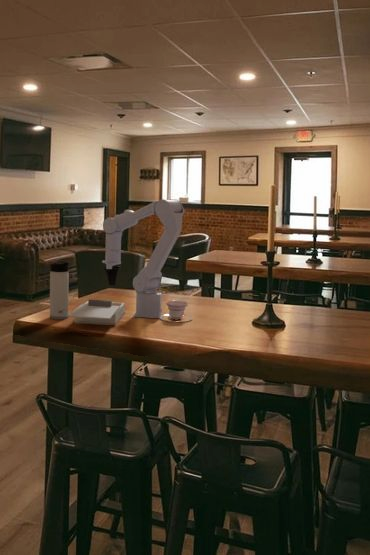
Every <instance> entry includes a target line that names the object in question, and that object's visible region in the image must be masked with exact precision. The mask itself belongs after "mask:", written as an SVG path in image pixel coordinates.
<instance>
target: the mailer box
mask: <svg viewBox="0 0 370 555" xmlns="http://www.w3.org/2000/svg"><path fill="white" fill-rule="evenodd" d="M84 304H88V300H87V301H86V302H84ZM125 305H126V303H125V302H113V301H112V306H120V308H119V309H118V311H117V312H116V313H115V314H114V315H113V316H112V318H111V319H110V320H108V319H91V318H74V324H84V325H99V326H116V325H117V324H118V323H119V321H120V320H122V318H123V317H124V315H125V314H126V312H125V308H126V306H125Z"/></svg>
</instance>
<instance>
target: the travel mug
mask: <svg viewBox="0 0 370 555" xmlns="http://www.w3.org/2000/svg"><path fill="white" fill-rule="evenodd" d="M69 265H70V261H64V262H63V261H62V262H54V263H53V262H52V263H50V268H49V269H50V271H49V272H50V273H49V318H50V319H51V320H56V321H57V320H59V321H60V320H66V319H68V318H69V317H67V316H68V315H69V285H70V284H69V281H70V280H69V278H70V277H69V275H70V274H69V272H70V271H69Z"/></svg>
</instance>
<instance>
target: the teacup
mask: <svg viewBox="0 0 370 555" xmlns="http://www.w3.org/2000/svg"><path fill="white" fill-rule="evenodd" d="M188 304H189V303H188V302H186V301H184V300H168V301H166V304H165V305H166V306H167V307H168V308H167V309H168V310H169V313H166V314H161V315H160V317H159V318H158V319H160V320H161V321H163V322H168V323H175V322H176V321H167V320H164V319H163V318H164V317H165V316H170V317H171V318H170V319H171V320H173V319H175V320H178V319H180V320H182V317H183V316H187V317H189V318H190V320H191V321H192V320H193V318H192V317H191V316H190V315H187V314H185V310H186V307H187V306H188ZM190 320H189V322H191V321H190ZM180 322H182V323H188V322H187V321H180Z"/></svg>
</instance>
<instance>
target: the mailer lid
mask: <svg viewBox="0 0 370 555" xmlns="http://www.w3.org/2000/svg"><path fill="white" fill-rule="evenodd" d="M87 301H88V304H85V303H81V304H80V305H79V306H77V307H76V308H75V309H74V310H72V311H71V312H70V313H68V316H67V317H68V318H74V319H75V318H91V319H108V320H110V319H111V318H112V316H113V315H114V314H115V313H116V312H117V311H118V309H119V308H120V306H112V302H113V301H112V300H106V299H105V300H104V299H89V298H88V300H87Z"/></svg>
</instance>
